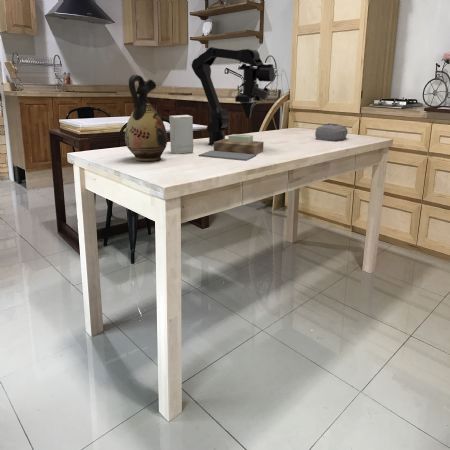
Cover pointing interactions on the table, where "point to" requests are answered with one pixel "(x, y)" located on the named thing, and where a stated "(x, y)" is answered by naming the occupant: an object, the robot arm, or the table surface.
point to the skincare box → (181, 134)
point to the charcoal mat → (228, 155)
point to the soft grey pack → (331, 132)
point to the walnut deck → (238, 147)
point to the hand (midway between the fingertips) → (248, 118)
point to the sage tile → (240, 138)
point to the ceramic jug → (144, 124)
